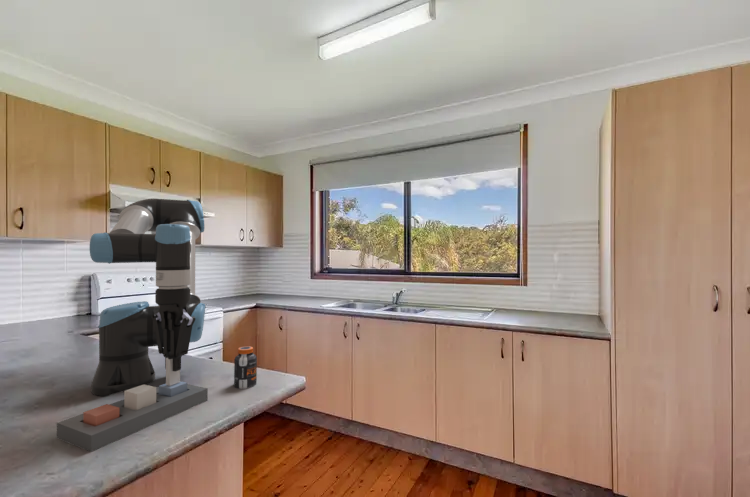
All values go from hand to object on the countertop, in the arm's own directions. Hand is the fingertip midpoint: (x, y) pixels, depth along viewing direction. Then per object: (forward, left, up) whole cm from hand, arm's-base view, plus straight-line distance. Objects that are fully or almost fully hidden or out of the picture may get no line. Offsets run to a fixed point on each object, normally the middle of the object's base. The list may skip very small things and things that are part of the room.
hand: (173, 383), depth 91 cm
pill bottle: (+6, +17, -6) cm, 20 cm away
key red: (0, -16, -4) cm, 16 cm away
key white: (0, -8, -3) cm, 8 cm away
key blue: (0, 0, -4) cm, 4 cm away
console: (0, -8, -6) cm, 10 cm away
